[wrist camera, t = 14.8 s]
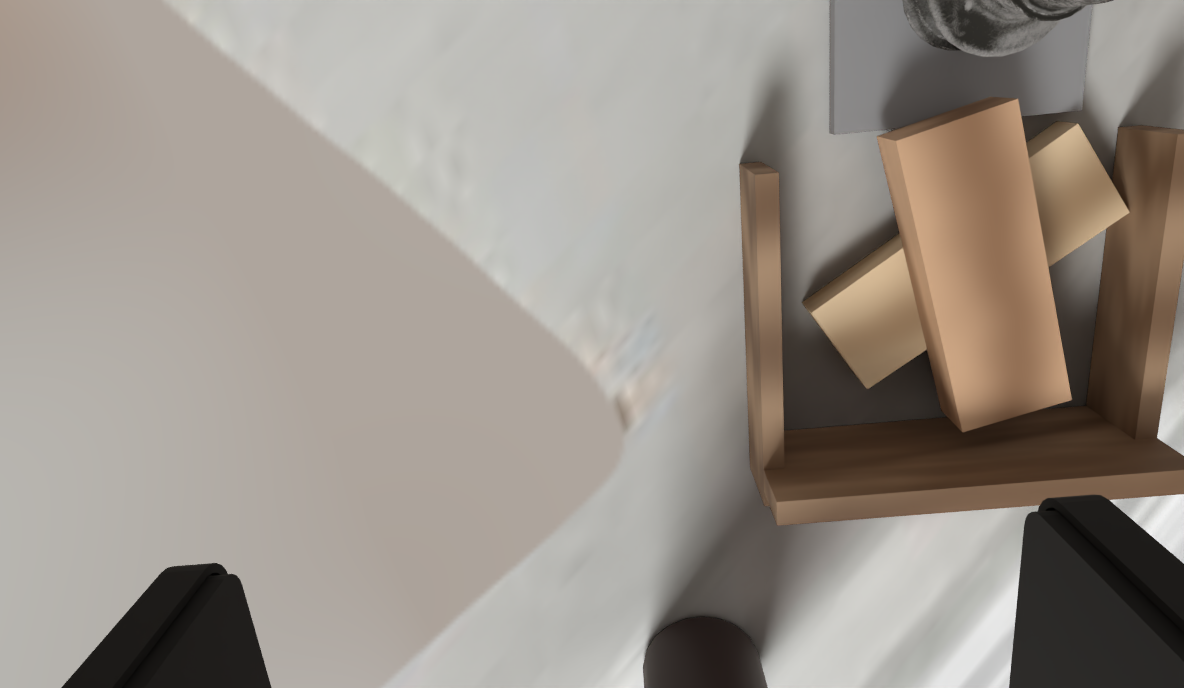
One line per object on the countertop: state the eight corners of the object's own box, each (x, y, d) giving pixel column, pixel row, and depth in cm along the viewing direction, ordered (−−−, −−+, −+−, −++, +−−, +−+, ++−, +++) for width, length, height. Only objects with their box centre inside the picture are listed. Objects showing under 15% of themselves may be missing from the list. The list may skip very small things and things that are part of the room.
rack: (739, 163, 37) (769, 184, 31) (1140, 125, 37) (1259, 138, 30) (750, 467, 43) (777, 540, 36) (1101, 438, 42) (1195, 508, 35)
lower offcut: (798, 298, 40) (811, 313, 38) (1047, 120, 37) (1078, 123, 35) (851, 371, 42) (867, 389, 39) (1097, 203, 39) (1129, 212, 36)
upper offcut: (941, 410, 39) (962, 432, 37) (876, 136, 35) (896, 141, 33) (1043, 379, 39) (1071, 399, 36) (990, 96, 35) (1018, 98, 32)
